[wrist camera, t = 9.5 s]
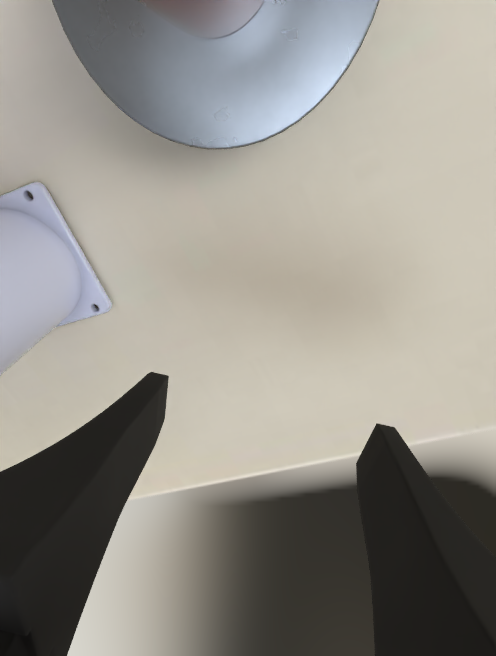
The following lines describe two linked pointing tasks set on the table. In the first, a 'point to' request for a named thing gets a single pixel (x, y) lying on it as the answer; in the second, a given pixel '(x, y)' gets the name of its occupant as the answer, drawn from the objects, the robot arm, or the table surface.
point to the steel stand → (217, 66)
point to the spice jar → (204, 15)
